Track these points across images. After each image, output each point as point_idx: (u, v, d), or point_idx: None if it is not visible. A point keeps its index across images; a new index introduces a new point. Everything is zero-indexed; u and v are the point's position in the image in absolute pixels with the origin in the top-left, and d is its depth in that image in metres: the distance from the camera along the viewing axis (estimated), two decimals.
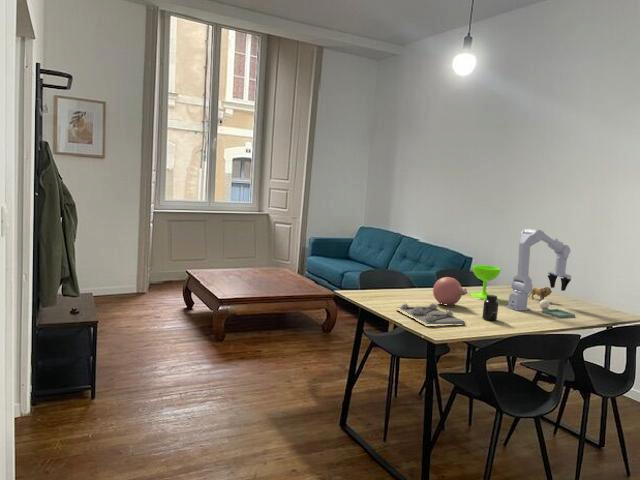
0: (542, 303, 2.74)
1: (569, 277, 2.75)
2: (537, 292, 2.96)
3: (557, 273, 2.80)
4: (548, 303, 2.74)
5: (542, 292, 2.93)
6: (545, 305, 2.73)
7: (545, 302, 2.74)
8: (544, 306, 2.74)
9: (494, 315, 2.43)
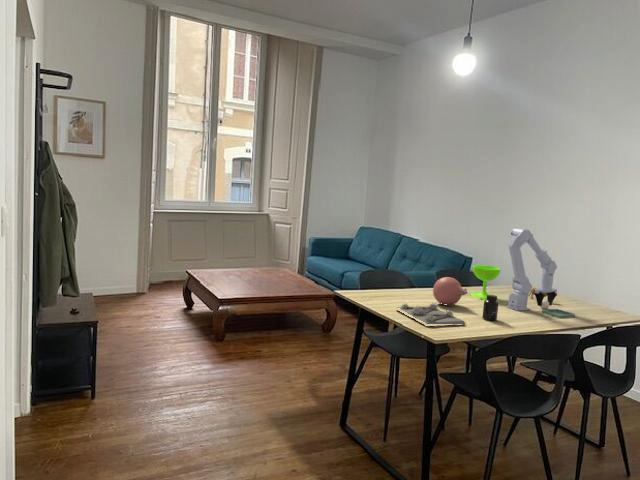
0: (542, 303, 2.74)
1: (535, 291, 2.72)
2: None
3: None
4: (548, 303, 2.74)
5: None
6: (545, 305, 2.73)
7: (545, 302, 2.74)
8: (544, 306, 2.74)
9: (494, 315, 2.43)
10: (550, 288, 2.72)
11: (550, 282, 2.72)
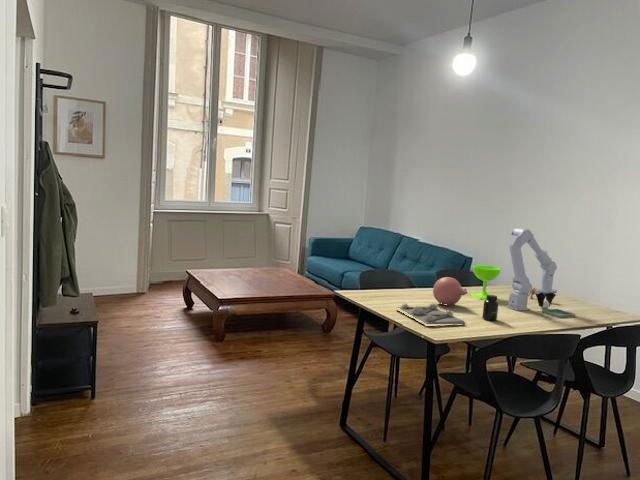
0: None
1: (535, 292, 2.72)
2: None
3: None
4: (548, 303, 2.74)
5: None
6: (545, 305, 2.73)
7: (545, 302, 2.74)
8: (544, 306, 2.74)
9: (494, 315, 2.43)
10: (550, 289, 2.72)
11: (550, 283, 2.72)
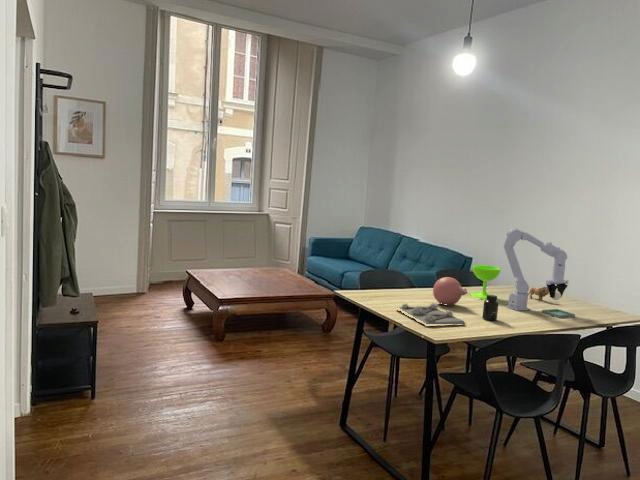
0: None
1: (547, 282, 2.63)
2: (535, 292, 2.97)
3: None
4: (560, 294, 2.65)
5: (540, 292, 2.94)
6: (557, 296, 2.64)
7: (557, 293, 2.65)
8: (556, 297, 2.65)
9: (494, 315, 2.43)
10: (562, 279, 2.63)
11: (562, 273, 2.62)
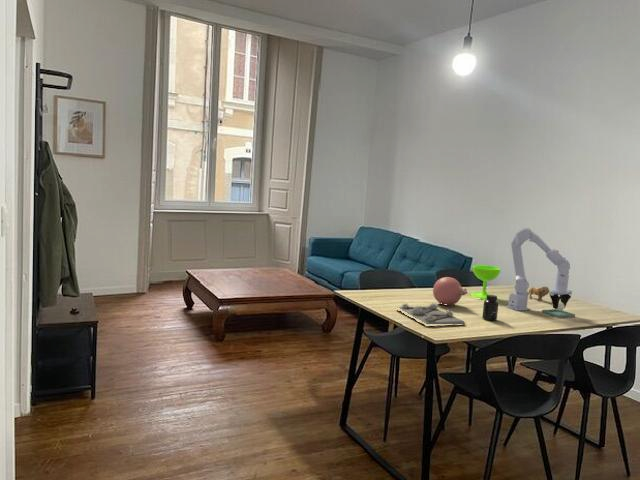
0: None
1: (550, 293, 2.60)
2: (535, 292, 2.97)
3: None
4: (563, 305, 2.61)
5: (540, 292, 2.94)
6: (560, 307, 2.61)
7: (560, 304, 2.61)
8: (559, 308, 2.61)
9: (494, 315, 2.43)
10: (565, 290, 2.60)
11: (565, 284, 2.59)
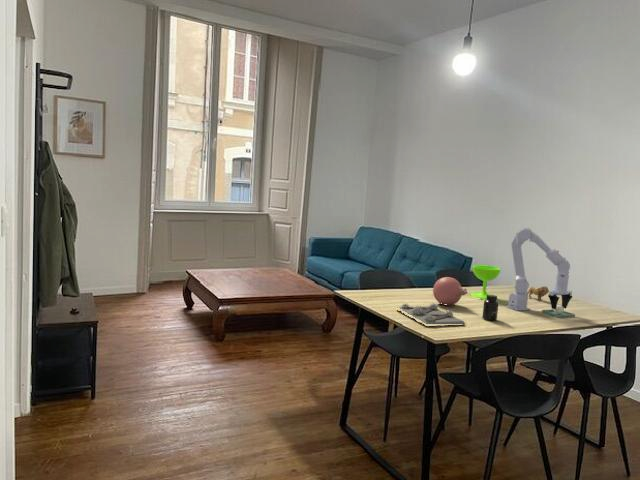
0: (556, 308, 2.62)
1: (550, 293, 2.60)
2: (534, 291, 2.98)
3: None
4: (563, 308, 2.62)
5: (539, 291, 2.94)
6: (559, 310, 2.61)
7: (559, 307, 2.62)
8: (558, 311, 2.62)
9: (494, 315, 2.43)
10: (565, 290, 2.60)
11: (565, 284, 2.59)
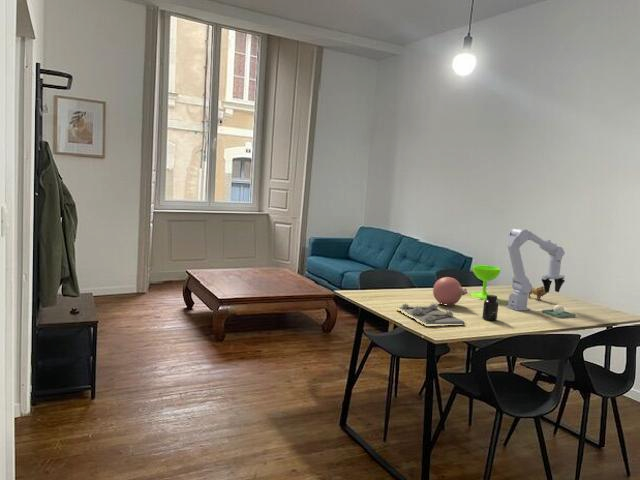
0: (556, 308, 2.62)
1: (543, 277, 2.72)
2: (534, 291, 2.98)
3: None
4: (563, 308, 2.62)
5: (539, 291, 2.95)
6: (559, 310, 2.61)
7: (559, 307, 2.62)
8: (558, 311, 2.62)
9: (494, 315, 2.43)
10: (558, 274, 2.72)
11: (558, 268, 2.72)
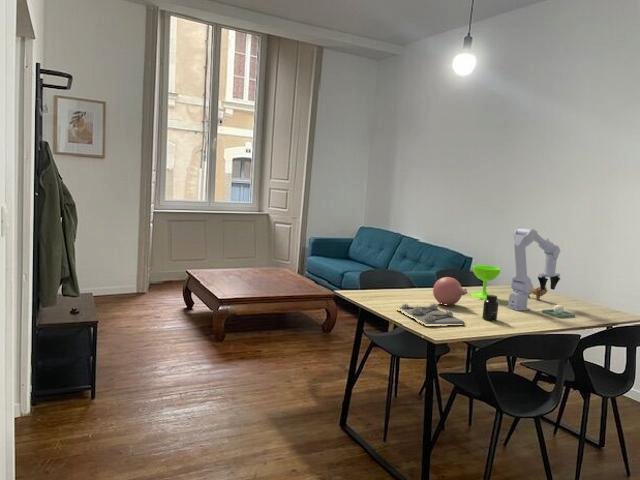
0: (556, 308, 2.62)
1: (539, 275, 2.79)
2: (533, 291, 2.98)
3: None
4: (563, 308, 2.62)
5: (538, 291, 2.95)
6: (559, 311, 2.61)
7: (560, 307, 2.62)
8: (558, 312, 2.62)
9: (494, 315, 2.43)
10: (553, 272, 2.79)
11: (553, 266, 2.78)
